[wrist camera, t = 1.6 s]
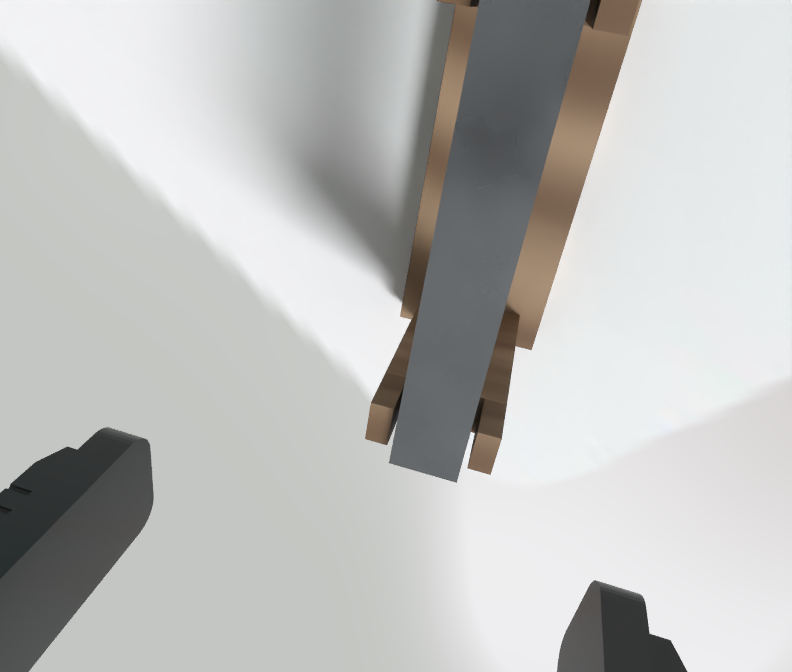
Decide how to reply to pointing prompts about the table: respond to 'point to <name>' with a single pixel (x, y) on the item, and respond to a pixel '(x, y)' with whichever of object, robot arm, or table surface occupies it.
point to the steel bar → (483, 219)
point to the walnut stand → (548, 221)
